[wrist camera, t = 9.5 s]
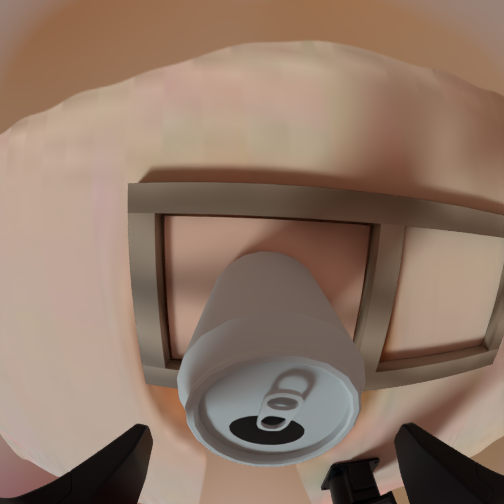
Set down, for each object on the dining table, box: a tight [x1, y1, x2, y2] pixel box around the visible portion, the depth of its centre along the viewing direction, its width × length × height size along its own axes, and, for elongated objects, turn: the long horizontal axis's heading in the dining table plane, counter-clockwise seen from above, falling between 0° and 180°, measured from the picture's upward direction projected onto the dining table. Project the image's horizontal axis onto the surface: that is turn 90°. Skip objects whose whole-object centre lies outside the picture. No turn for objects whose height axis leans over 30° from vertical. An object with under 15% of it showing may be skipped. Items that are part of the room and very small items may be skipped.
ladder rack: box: [128, 182, 504, 391], centre depth 19 cm, size 16×36×2 cm, turn 88°
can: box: [177, 251, 365, 467], centre depth 14 cm, size 8×8×12 cm
